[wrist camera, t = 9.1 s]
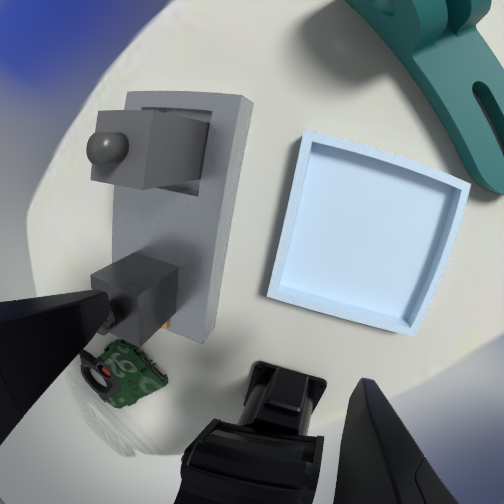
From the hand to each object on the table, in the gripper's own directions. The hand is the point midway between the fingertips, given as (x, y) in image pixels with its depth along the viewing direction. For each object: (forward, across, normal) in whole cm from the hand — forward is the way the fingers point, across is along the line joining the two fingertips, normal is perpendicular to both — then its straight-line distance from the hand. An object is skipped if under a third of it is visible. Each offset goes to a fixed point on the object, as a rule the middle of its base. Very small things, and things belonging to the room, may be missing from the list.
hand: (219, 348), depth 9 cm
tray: (+12, -5, -2) cm, 14 cm away
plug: (+12, +9, -5) cm, 16 cm away
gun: (+13, +17, +22) cm, 31 cm away
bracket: (+13, -9, -15) cm, 22 cm away
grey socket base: (+12, +9, 0) cm, 15 cm away
